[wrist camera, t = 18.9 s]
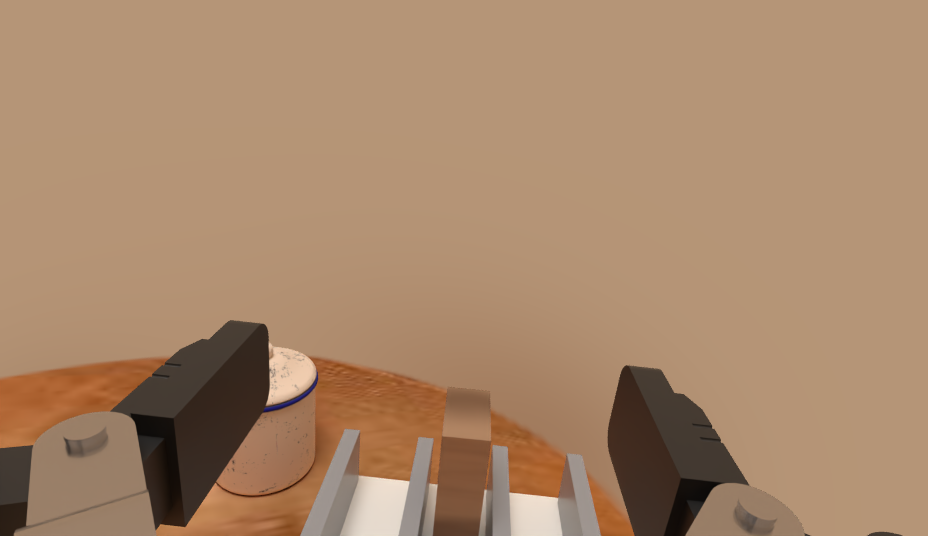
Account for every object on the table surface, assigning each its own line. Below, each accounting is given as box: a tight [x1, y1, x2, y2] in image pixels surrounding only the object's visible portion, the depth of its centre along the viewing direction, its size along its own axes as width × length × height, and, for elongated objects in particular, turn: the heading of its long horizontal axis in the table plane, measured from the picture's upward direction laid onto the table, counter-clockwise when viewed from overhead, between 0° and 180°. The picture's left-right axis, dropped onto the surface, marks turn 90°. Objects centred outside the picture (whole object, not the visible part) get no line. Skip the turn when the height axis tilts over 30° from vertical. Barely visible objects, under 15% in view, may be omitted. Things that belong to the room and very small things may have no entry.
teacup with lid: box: [216, 343, 318, 495], centre depth 46 cm, size 12×9×12 cm
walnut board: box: [433, 387, 491, 536], centre depth 37 cm, size 6×3×12 cm, turn 178°
